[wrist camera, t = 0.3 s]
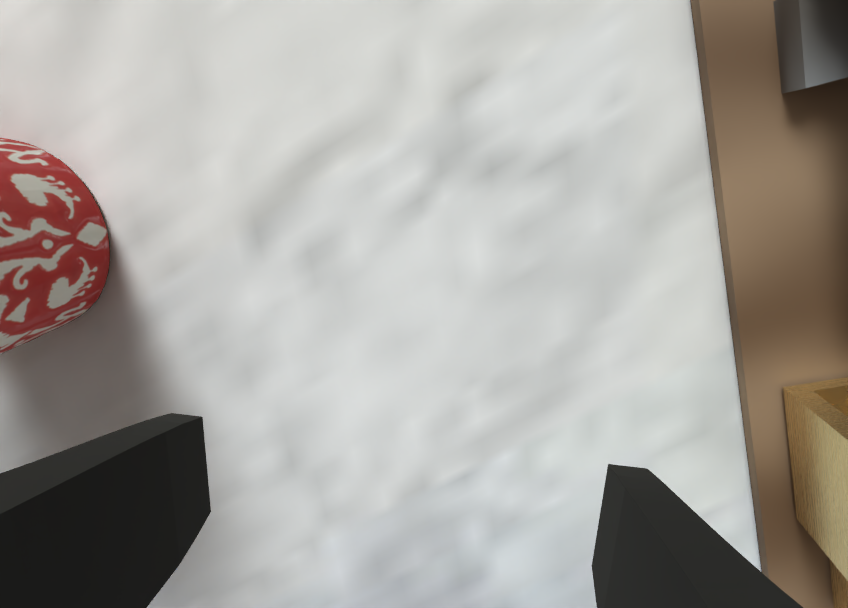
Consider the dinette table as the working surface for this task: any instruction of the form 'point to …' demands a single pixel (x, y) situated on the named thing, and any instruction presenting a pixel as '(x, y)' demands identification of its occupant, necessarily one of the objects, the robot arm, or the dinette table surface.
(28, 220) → the mug
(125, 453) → the robot arm
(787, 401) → the tan boxy piece
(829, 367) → the knob block baseplate
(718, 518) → the dinette table surface
